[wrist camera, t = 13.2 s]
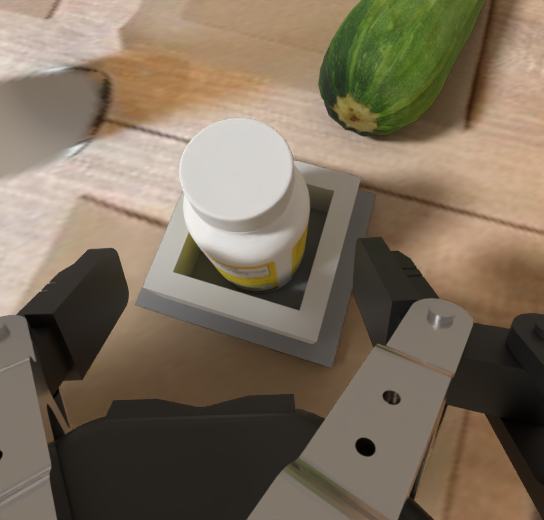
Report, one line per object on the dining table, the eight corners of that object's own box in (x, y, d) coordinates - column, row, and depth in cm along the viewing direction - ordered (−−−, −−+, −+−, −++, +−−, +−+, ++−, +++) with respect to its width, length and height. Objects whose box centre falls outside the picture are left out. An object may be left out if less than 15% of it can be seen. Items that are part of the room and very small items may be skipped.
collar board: (141, 307, 22) (110, 296, 18) (203, 157, 24) (187, 119, 20) (329, 367, 20) (340, 369, 16) (372, 201, 23) (389, 169, 19)
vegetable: (336, 26, 16) (521, -188, 21) (280, 94, 23) (428, -78, 27) (431, 138, 18) (582, -79, 23) (354, 170, 25) (481, -1, 29)
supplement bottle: (272, 194, 22) (262, 74, 13) (321, 263, 21) (350, 186, 11) (199, 239, 22) (131, 147, 12) (244, 312, 20) (208, 274, 11)
